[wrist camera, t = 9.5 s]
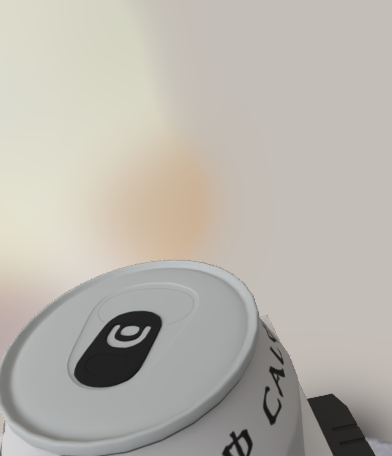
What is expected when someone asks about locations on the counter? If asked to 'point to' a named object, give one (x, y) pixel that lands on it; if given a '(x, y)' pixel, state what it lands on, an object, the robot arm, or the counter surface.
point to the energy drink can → (150, 370)
